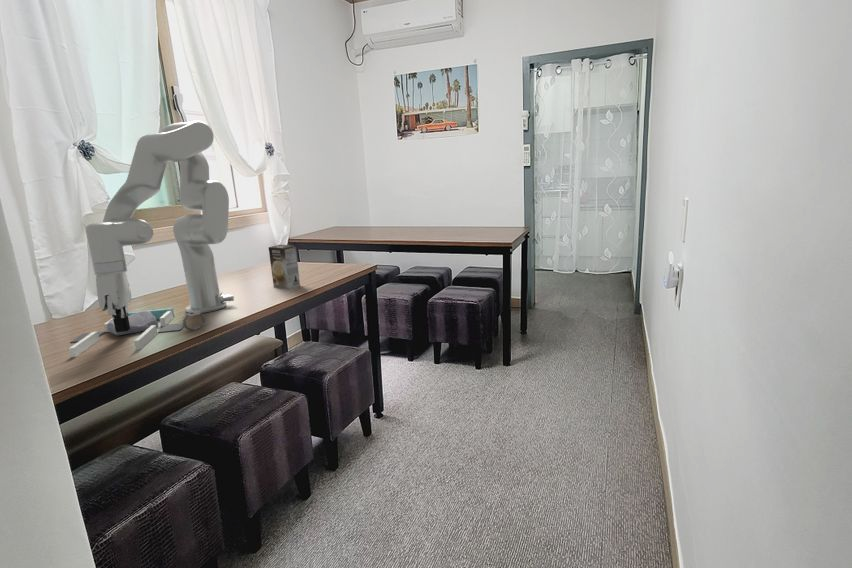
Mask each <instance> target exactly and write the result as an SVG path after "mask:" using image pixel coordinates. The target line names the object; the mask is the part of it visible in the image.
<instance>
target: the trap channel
mask: <svg viewBox="0 0 852 568" xmlns="http://www.w3.org/2000/svg"><path fill="white" fill-rule="evenodd" d="M141 311H142V310H140V311H131V312H129V311H128V316H130V315H131V314H135V313H137V312H141ZM147 311H149V312H151V313H152V314H153V315H154V316H155V318H156V320H157V321H158V320H159V323H160V326H161V328H160V329H159V331H158V329H157V328H158V327H156V325H151V326H150V327H149V328H148V329H147V330H146V331H142V333H141V334H140V335H139V336H138V337H137V338H135V339H134V341H133V342H134V348H135V350H136V351H137V350H142V349H144V347H145V346H146V345H147V344H148V343H149V342H150V341H151V340H152V339H153V338H154V337H155V336H156V335H158V334H163V333H171V332H180V331H181V330H182V329H183V328H185V327H184V326H183V322H177V323H170V322H171V321H172V320H173V319H174V318H175V314H174V308H173V307H170V308H160V309H150V310H149V309H148V310H147ZM110 320H112V318H111V319H109V320H108V321H106V322H105V323H103V327H104V330H103V331H92V332H89V333H82V334H79V335H78V336H76V338H73V340H71V341H70V344H71V343H73V345H71V346H70V347H69V348H68V351H69V354H70V358H77V357H78V356H80V355H81V354H82V353H83V352H85V351H86V350H87V349H89V348H90V347H91V346H93V345H94V344H96V343H97V342H98V341H100V337H101V336H102V335H104V334H105V333H110V332H109V331H108V328H107V324H108V322H109V321H110ZM186 325H188V324H187V321H186Z"/></svg>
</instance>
